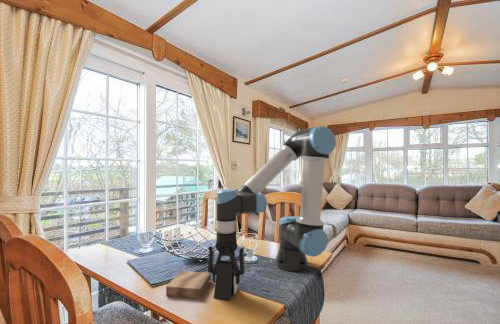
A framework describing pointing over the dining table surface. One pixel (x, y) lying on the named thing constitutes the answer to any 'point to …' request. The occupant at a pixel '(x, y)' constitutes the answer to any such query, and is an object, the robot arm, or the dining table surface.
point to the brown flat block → (188, 284)
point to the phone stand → (224, 280)
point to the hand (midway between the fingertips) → (226, 291)
